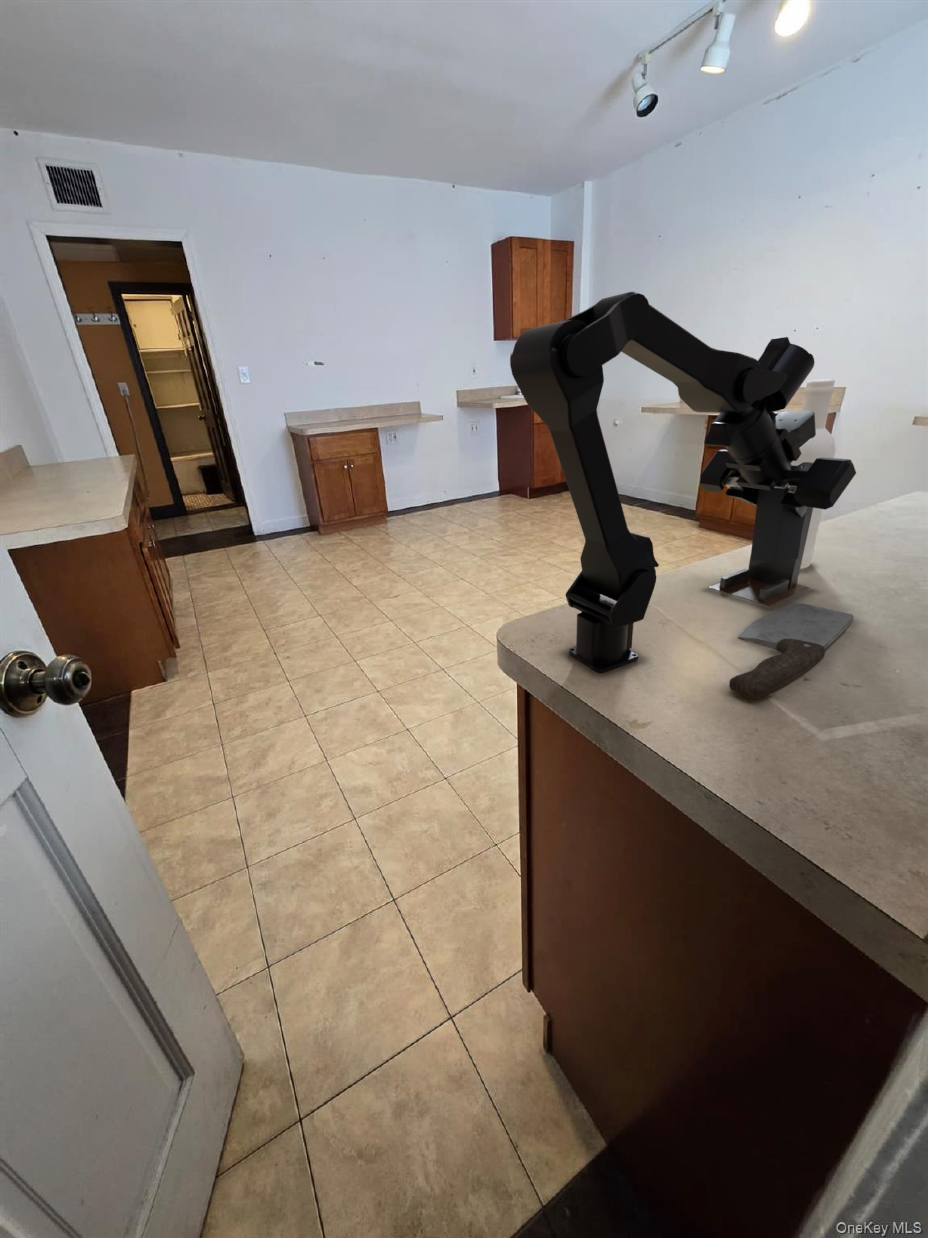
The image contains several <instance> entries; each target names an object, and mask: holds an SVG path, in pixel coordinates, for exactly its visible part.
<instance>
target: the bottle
mask: <svg viewBox="0 0 928 1238" xmlns="http://www.w3.org/2000/svg"><path fill="white" fill-rule="evenodd" d="M835 383H836V380H835V379H834V378H829V379H828V378H824V379H823V378H822V379H809V380H808V381H806V385H805V388H804V390H803V394H804V396H803V400H802V406H801V410H800V411H813V412H814V413H815V429H816V435H815V437H813V438H811V439H809V440H808V441H807V442H806V443H805V444H804V445H802V446H801V447H800V448H799V449H800V451H801V453H802V454H801V455H800V457H799V458H798V459H797V461H792V463H791V465H794V466H798V465H800V464H801V463H804V462H810V463H814V461H815V460H816V459H817V458H821V457H825V458H836V457H835V456H836V453H837V452H836V451H837V450H836V441H835V438H834V436H833V435H832V434H831V432H829V430H828V429H827V428H826V426H827V425H826V424H827V422H828V421H827V420H828V416H829V410H830V405H831V402H832V397H833V393H834V392H835ZM823 510H824V509H819V508H813V511H812V516H811V520H810V525H809V530H808V534H807V539H806V544H805V548H804V553H803V558H802V562H801V567H800V570H802V569H803V570H804V569H806V568H809V567H810V566H811V562H812V560H813V557H814V552H815V545H816V540H817V536H818V532H819V527H820V523H821V518H822V513H823Z"/></svg>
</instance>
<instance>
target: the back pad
mask: <svg viewBox="0 0 928 1238" xmlns="http://www.w3.org/2000/svg"><path fill="white" fill-rule="evenodd" d="M788 490H789V488H788V487H787V488H786V489H779V488H773V490H772V491H771V490H764V489H759V490H758V499H757V507H756V506H755V507H756V508H755V516H754V525H753V533H752V540H751V550H750V551H751V552H750V556H751V558H750V557H749V560H750V559H753V560H759V561H765V562H771V563H779V562H784V561H789V560H794V559H798V555H799V548H800V541H801V535H802V528H803V521H804V516H803V517H798V516H797V515H795V514H793V513H792V512H791V511H789V510H788V509H787V508H785V507H784V506H782V505H781V504H780V502H781V501H782V500H783V498H784V497H785V495H786V494H787V492H788Z"/></svg>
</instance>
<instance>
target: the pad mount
mask: <svg viewBox="0 0 928 1238" xmlns="http://www.w3.org/2000/svg"><path fill="white" fill-rule="evenodd" d="M812 511H813V508H812V507H807V510H806V513H805V514H804V521H803V528H802V535H801V541H800V548H799V555H798V559H794V560H789V561H784V562H779V563H771V562H765V561H759V560H753V559H750V558H751V555H750V556H749V562H748V569H747V568H742V569H741V570H738V571H735V572H733V573H729V574H728V575H725V576H722V577H720V581H719V582H718V583H716V584H713V585H710V586H708V589H711V590H715V591H718V592H721V593H725V594H728V595H732V596H734V597H738V598H740V599H745V600H748V601H751V602H754V603H758V604H761V605H764V606H767V607H771V606H773V605H776V604H777V603H780V602H782V601H784V600H786V599H789V598H790V597H793V596H795V595H797V594H799V593H801V592H803V591H806V590H808V589H810V588H811V587H810V586H806V585H802V584H798V581H799V576H800V571H801V569H800V567H801V562H802V558H803V553H804V548H805V544H806V539H807V534H808V530H809V525H810V520H811V516H812Z"/></svg>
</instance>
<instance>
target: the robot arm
mask: <svg viewBox="0 0 928 1238" xmlns="http://www.w3.org/2000/svg"><path fill="white" fill-rule="evenodd" d="M620 353H623V354H624V355H626V356H628V357H629V358H631V359H632V360H634V361H636V362H638V363H640V364H641V365H643V366H645V367H646V368H648V369H649V370H651V371H653V372H655V373H656V374H658V375H660V376H661V377H663V378H664V379H666V380H668V381H670V382H671V383H672V384H673V385H674V386H676V388H677V392H678V397H679V398H680V400H682V402H684V404H686V406H688V407H689V408H690V409H691V410H692V411H693V412H696V413H702V414H703V413H706V414H707V413H710V414H711V413H712V414H716V413H717V414H718V415H717V417H716V418H715V419H714V421H713V422H710V424H709V429H708V431H707V433H706V434H705V436H704V441H703V442H704V443H703V444H704V445H705V446H710V447H711V446H712V447H724V448H725V449H719V450H717V451H716V452H715V453H714V455H713V456H712V458H711V459H710V460H709V462H708V463H707V465H706V466H705V467H704V469H703V471H701V473H700V475H699V484H700V486H701V487H702V489H703V491H705V492H711V493H716V494H717V493H718V494H721V492H722V491H723V490H724V489H725V486H726V487H727V490H726V491H725V495H726V496H727V497H730V498H733V499H736V500H739V501H741V502H743V503H746V504H749V505H752V506H754V507H757V499H758V490H759V489H764V490H771V491H772V490H773V488H779V489H786V488H787V487H788V488H789V490H788V492H787V494H786V495H785V497H784V498H783V500H782V501H781V502H780V504H781V505H782V506H784V507H785V508H787V509H788V510H789V511H791V512H792V513H793V514H795V515H797V516H798V517H803V516H804V514H805V513H806V510H807V507H812V508H819V509H823V510H827V509H830V508H833V507H834V506H835V505H836V502H837V501H838V500H839V498H840V497H841V495H842V494H843V493H844V491H845V490H846V488H847V487H848V486H849V484H850V483H851V482H852V480H853V479H854V477H855V476H856V474H857V471H856V468H855V465H854V463H853V461H852V459H849V458H836V457H834V458H825V457H821V458H817V459H816V460H815V461H814V463H810V462H804V463H801V464H800V465H798V466H794V465H791V463H792V461H797V459H798V458H799V457H800V455H801V454H802V453H801V451H800V449H799V448H800V447H801V446H802V445H804V444H805V443H806V442H807V441H808V440H809V439H811V438H813V437H815V435H816V429H815V413H814V412H813V411H801V410H785V408H787V407H788V404H790V402H791V400H792V399H793V398H794V397H795V395H796V393H797V392H798V390H799V389H800V388H801V387H802V385H803V383H804V382H805V381H806V379H807V377H808V376H809V375H810V373H812V370H813V369H814V367H815V357H814V355H813V354H812V353H810V352H809V351H808V350H807V349H805V348H804V347H802V346H800V345H798V344H794V343H791V341H790V338H789V337H788V336H784V337H783V336H782V337H775V338H771V339H770V340H769V342H768V343H767V345H766V346H765V348H764V351H763V352H762V353H761V355H760V357H759V358H758V359H756V358H754V357H752V356H749V355H746V354H743V353H740V352H735V351H727V350H723V349H722V350H721V349H717V348H714V347H711V346H710V345H708V344H706V343H705V342H704V341H703V340H701V339H699V338H698V337H697V336H695V335H694V334H692V333H691V332H690V331H688V330H687V329H685V328H684V327H682V326H681V325H680V324H678V323H677V322H675V321H674V320H672V318H670V317H668V316H667V315H665V314H664V313H663V312H661V311H660V310H658V309H657V308H655V307H654V306H653V305H651V304H650V302H649V300H648V298H647V297H646V296H645V295H644V294H642V293H639V292H636V291H635V290H634V291H629V292H623V293H620V294H616V295H612V296H609V297H605V298H601V299H600V300H599V301H597V302H596V303H595V304H593V305H592V306H590V307H588V308H587V309H585V310H583V311H581V312H579V313H577V314H574V315H572V316H570V317H568V318H566V319H564V320H561V321H559V322H555V323H550V324H545V325H540V326H536V327H532V328H529V329H526V330H525V331H523V333H521V334H520V335H519V337H518V338H517V340H516V341H515V343H514V346H513V349H512V354H511V355H510V357H509V366H510V371H511V376H512V378H513V379H514V381H515V383H516V385H517V387H518V389H519V391H520V393H521V394H522V396H523V398H524V401H525V403H526V404H527V406H529V408H530V409H531V410H532V411H533V412H534V414H536V415H537V416H538V417H539V418H540V420H541V421H542V422H543V423H544V424H545V425H546V427H547V428H548V430H549V432H550V436H551V438H552V442H553V445H554V447H555V452H556V454H557V457H558V461H559V463H560V466H561V469H562V470H561V471H562V472H563V476H564V478H565V482H566V485H567V487H568V491H569V494H570V498H571V501H572V503H573V506H574V509H575V512H576V515H577V519H578V522H579V525H580V527H581V531H582V534H583V537H584V545H583V547H582V551H581V554H580V558H579V559H580V566H581V571H580V573H579V574H578V575H577V577H576V578H575V580H574V581H573V582H572V584H571V585H570V586H569V588H568V589H567V591H566V592H565V599H566V602H567V604H568V606H569V607H570V608H573V609H575V610H578V611H580V612H579V613H576V638H575V639H576V641H575V642H576V643H575V646H573V647H570V648H568V654H569V655H571V656H572V657H574V658H576V659H577V660H579V661H580V662H582V663H583V664H585V665H587V666H588V667H589V668H591V669H592V670H594V671H596V672H597V673H604V672H607V671H609V670H612V669H615V668H618V667H620V666H624V665H625V664H629V663H632V662H634V661H637V660H639V653H636V652H634V651H633V650H631V649H632V647H633V633H634V624H635V623H637V622H640V621H643V620H644V619H645V616H646V613H647V611H648V607H649V604H650V602H651V598H652V596H653V593H654V590H655V587H656V584H657V571H656V568H658V567H659V566H660V564H659V563H658V562H657V560H656V558H655V553H654V544H653V542H652V540H651V538H650V537H649V536H645V535H641V534H638V533H634V532H631V531H630V530H629V528H628V523H627V520H626V517H625V512H624V509H623V506H622V501H621V497H620V494H619V489H618V486H617V483H616V479H615V476H614V472H613V468H612V464H611V459H610V456H609V453H608V450H607V446H606V442H605V441H606V440H605V438H604V434H603V431H602V427H601V423H600V420H599V416H598V406H599V401H600V398H601V394H602V390H603V387H604V381H605V377H604V376H605V375H604V367H603V366H604V365H605V364H607V363H609V362H610V361H611V360H613V359H614V358H616V357H617V356H619V355H620ZM782 410H785V411H782ZM781 411H782V412H781Z"/></svg>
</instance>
